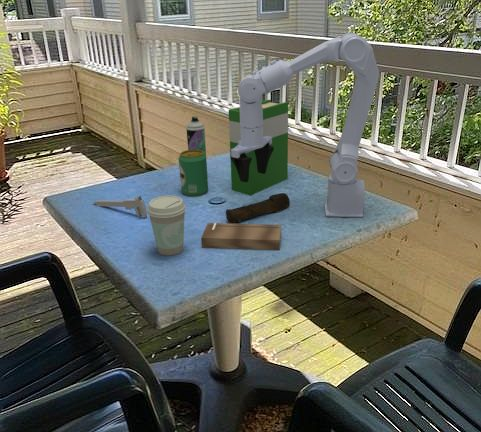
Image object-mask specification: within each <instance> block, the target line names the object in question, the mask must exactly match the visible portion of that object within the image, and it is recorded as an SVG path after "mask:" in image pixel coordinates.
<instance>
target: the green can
mask: <svg viewBox="0 0 481 432" xmlns="http://www.w3.org/2000/svg"><path fill="white" fill-rule="evenodd" d="M206 161H207V155H206V156H205V154H204V152H203V151H201V150H188V149H187V150H184V151H181V152H180V153H179V157H178V169H179V177H180V179H179V181H180V190H181V192H182V193H183V194H184V196H187V197H200V196H203V195H205V194H206V193H207V192H208V189H209V181H208V179H209V178H208V166H207V165H208V162H207V163H206ZM207 178H208V179H207Z"/></svg>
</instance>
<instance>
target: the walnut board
mask: <svg viewBox="0 0 481 432" xmlns="http://www.w3.org/2000/svg"><path fill="white" fill-rule="evenodd" d="M200 238H201V248H206V249H207V248H209V249H211V248H213V249H237V250H239V249H240V250H241V249H242V250H264V251H265V250H266V251H267V250H269V251H272V250H273V251H280V249H281V239H282V224H261V223H260V224H258V223H256V224H255V223H234V224H230V223H229V222H226V223H224V222H207V223H206V225H205V228H204V230H203V233H202V235H201V237H200Z"/></svg>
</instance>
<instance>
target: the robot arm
mask: <svg viewBox="0 0 481 432" xmlns="http://www.w3.org/2000/svg"><path fill="white" fill-rule="evenodd" d="M339 58H340V59H341V60H342V61H343V62H344V63H345V64H347V65H348V66H349V67H350V69H351V70H352V73H354V75H355V76H356V80H355V83H354V87H353V90H352V93H351V99H350V102H349V106H348V109H347V113H346V116H345V121H344V124H343V128H342V132H341V135H340V137H339V141H338V142H337V144H336V147H335V150H334V151H333V152H332V153H331V155H330V157H329V160H328V162H329V167H330V169H331V172H330V174H329V175H328V177H327V178H328V179H327V195H326V196H327V197H326V203H324V211H325V217H332V218H333V217H335V218H336V217H338V218H340V217H341V218H345V217H346V218H363V217H364V206H365V196H366V194H365V192H366V189H365V187H366V185H365V179H360V178H357V177H358V174H359V168H358V160H359V154H360V153H359V150H360V148H359V147H360V144H361V141H362V138H363V133H364V130H365V127H366V123H367V119H368V116H369V113H370V110H371V106H372V102H373V99H374V96H375V92H376V89H377V85H378V82H379V77H380V70H379V68H378V64H377V60H376V57H375V54H374V48H373V47H372V46H371V45H370V43H369V42H368V41H367V40H366V38H364V37H362V36H360V35H358V34H357V33H355V32H347V33H344V34H343V35H341V36H337V37H333V38H330V39H329V40H326V41H324V42H322V43H320V44H319V45H317V46H315V47H314V48H311V49H309V50H308V51H306V52H304V53H302V54H300V55H299V56H297V57H295V58H293V59H291V60H289V61H285V60H282V59H279V60H276V59H273V60H271V61H270V64H269V65H267V66H265V67H264V68H262V69H259V70H258V71H257V70H253V71H251V72H252V75H251V74H249V75H246V76H244V77H243V78H242V79H241V80H240V82H239V85H238V87H237V93H238V96H239V107H240V133H241V141H238V145H237V146H236V147H235V148H233V149H231V155H230V154H229V156H230V157H229V159H230V161H231V160H232V162H233V163H234V165H235V167H236V169H237V172H238V175H239V178H240V181H242V182H248V180H249V167H250V163H251V160H252V158H251V157H247V155H246V153H248V152H251V151H253V150H254V152H255V156H256V161H257V170H258V173H262V174H265V173H266V170H267V165H268V161H269V158H270V156H271V154H272V152H273V150H274V147H273V146H269V145H270V144H272V137H269V136H264V137H263V107H262V105H261V101H262V95H263V94H264V95H268V94H270V93H271V92H274V91H276V90H278V89H279V88H282V87H284V86H286V85H288V84H290V83H291V82H292V80H293V76H294V75H296V74H299V73H300V72H303V71H304V70H305V71H306V70H307V69H309V68H312V67H314V66H316V65H319V64H320V63H322V62H325V61H326V62H327V61H328V62H336V63H338V62H339Z"/></svg>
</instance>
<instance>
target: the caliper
mask: <svg viewBox="0 0 481 432" xmlns="http://www.w3.org/2000/svg"><path fill="white" fill-rule="evenodd" d="M92 203H93V204H92V205H95V204H96V205H95V206H97V205H99V206H98V207H115V208H116V207H117V208H121V207H122V208H124V209H125V210H126V211H127V210H129V211H130V210H132V209H133V211H134V212H135V214H136V215H137V217H138V218H143V219H145V218H147V217H148V213H147V206H146V203H145V201H144V199H143V198H142V195H139V196H138V195H137V196H134V198H132V199H130V198H129V199H128V198H127V199H124V200H108V199H107V200H103V199H97V200H95V201H94V202H92ZM141 216H142V217H141Z"/></svg>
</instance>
